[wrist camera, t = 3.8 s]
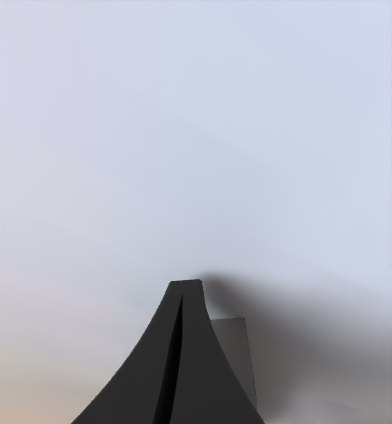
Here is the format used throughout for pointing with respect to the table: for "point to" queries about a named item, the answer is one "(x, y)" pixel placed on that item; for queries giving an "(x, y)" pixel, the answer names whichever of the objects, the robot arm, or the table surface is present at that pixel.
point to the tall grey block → (237, 352)
